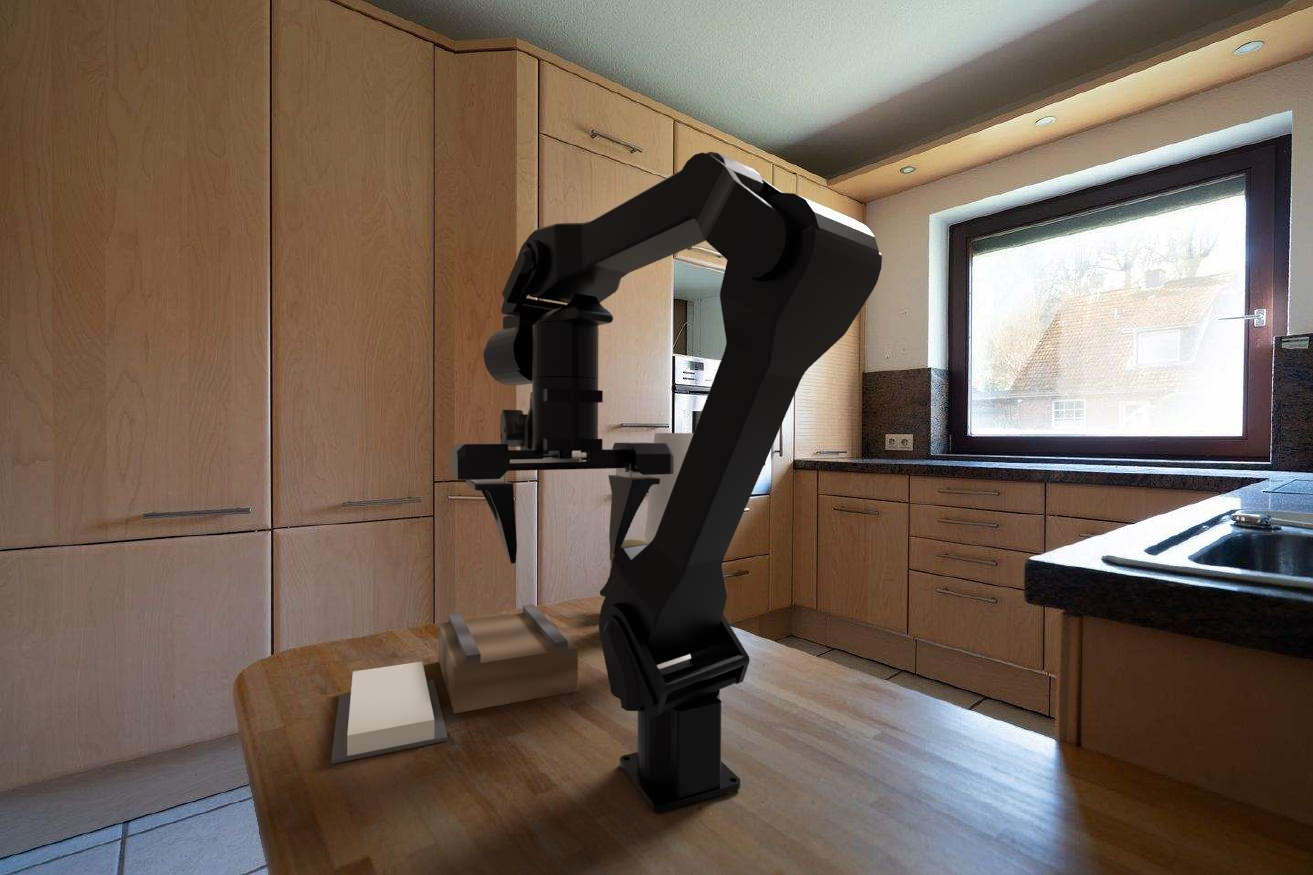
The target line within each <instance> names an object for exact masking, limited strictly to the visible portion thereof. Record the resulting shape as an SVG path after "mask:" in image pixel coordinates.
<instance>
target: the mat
mask: <svg viewBox="0 0 1313 875" xmlns="http://www.w3.org/2000/svg"><path fill="white" fill-rule="evenodd" d="M426 682H427V687H428V691H429V696H430V701H431V706H432V710H433V715H434V739H431V740H426V741H421V742H416V743H411V744H406V745H401V746H396V747H391V748H385V749H380V750H375V751H370V752H365V753H360V754H355V755H350V756H347V733H348V722H349V710H350V699H351V692H348V693H346V692H345V693H340V694H339V695H338V701H337V710H336V717H335V718H336V719H335V726H334V733H333V743H332V750H331V759H330V764H331V765H334V764H338V763H344V762H347V761H353V760H359V759H364V758H368V757H373V756H377V755H384V754H388V753H393V752H397V751H399V752H400V751H403V750H408V749H413V748H419V747H423V746H428V745H431V744H432V745H434V744H436V743H437V744H438V743H442V742H448V741H449V740H448V734H447V733H448V732H447V729H446V726H445V722H444V718H443V716H444V715H443V713H442V709H441V704H440V702H439V701H440V700H439V697H438V693H437V692H438V691H437V689H436V688H437V687H436V685H435V680H434V679H429V680H428V679H427V680H426Z"/></svg>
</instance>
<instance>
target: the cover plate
mask: <svg viewBox="0 0 1313 875" xmlns="http://www.w3.org/2000/svg"><path fill="white" fill-rule="evenodd" d="M426 681H427V676H426V673H425V668H424V663H423V661H416V662H410V663H409V662H408V663H403V664H397V665H389V666H382V667H374V668H370V669H362V670H361V669H360V670H353V671H352V679H351V690H350V693H351V699H350V710H349V722H348V733H347V756H350V755H355V754H360V753H365V752H370V751H375V750H380V749H385V748H391V747H396V746H401V745H406V744H411V743H416V742H421V741H426V740H431V739H434V715H433V710H432V706H431V701H430V696H429V691H428V687H427V682H426Z"/></svg>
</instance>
